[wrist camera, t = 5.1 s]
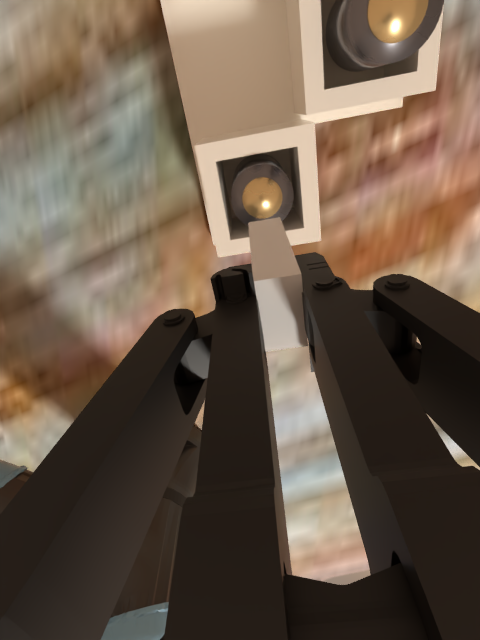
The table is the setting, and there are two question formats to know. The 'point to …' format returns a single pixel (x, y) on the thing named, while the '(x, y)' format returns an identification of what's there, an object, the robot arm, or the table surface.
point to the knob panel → (272, 97)
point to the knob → (261, 189)
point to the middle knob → (378, 31)
